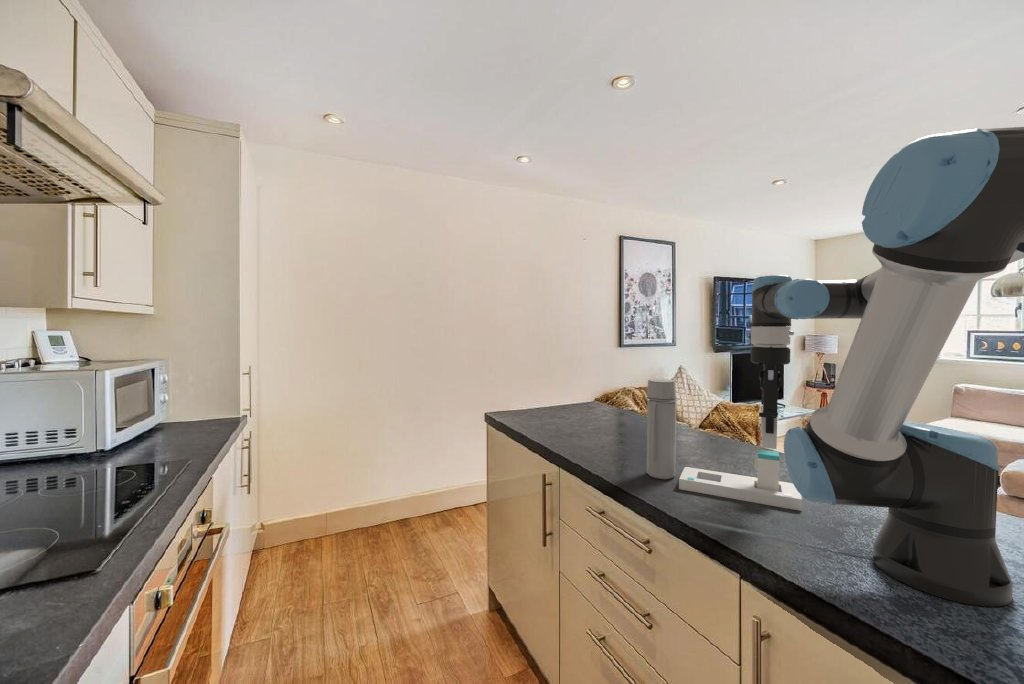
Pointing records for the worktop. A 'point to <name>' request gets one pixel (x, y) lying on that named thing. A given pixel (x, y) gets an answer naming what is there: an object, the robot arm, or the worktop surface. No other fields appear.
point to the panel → (739, 488)
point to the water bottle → (661, 428)
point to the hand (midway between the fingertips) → (767, 440)
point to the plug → (767, 470)
